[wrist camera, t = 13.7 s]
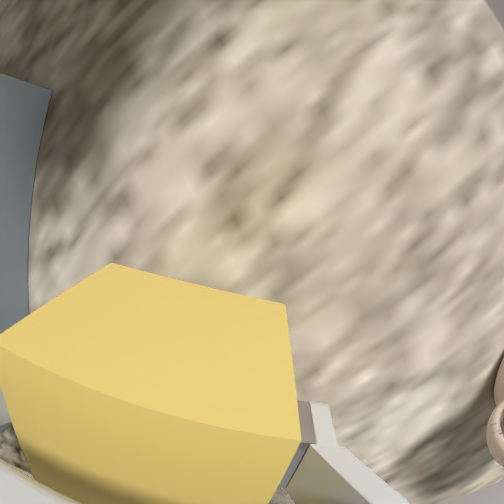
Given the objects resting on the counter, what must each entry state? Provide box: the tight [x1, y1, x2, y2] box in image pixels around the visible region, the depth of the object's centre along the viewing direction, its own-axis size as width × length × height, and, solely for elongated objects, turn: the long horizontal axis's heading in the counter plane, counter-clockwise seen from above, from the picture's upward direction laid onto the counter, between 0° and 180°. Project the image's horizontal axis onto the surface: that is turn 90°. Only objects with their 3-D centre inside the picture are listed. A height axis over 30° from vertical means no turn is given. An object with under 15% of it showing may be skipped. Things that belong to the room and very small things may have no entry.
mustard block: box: [0, 263, 301, 504], centre depth 7 cm, size 5×5×5 cm
